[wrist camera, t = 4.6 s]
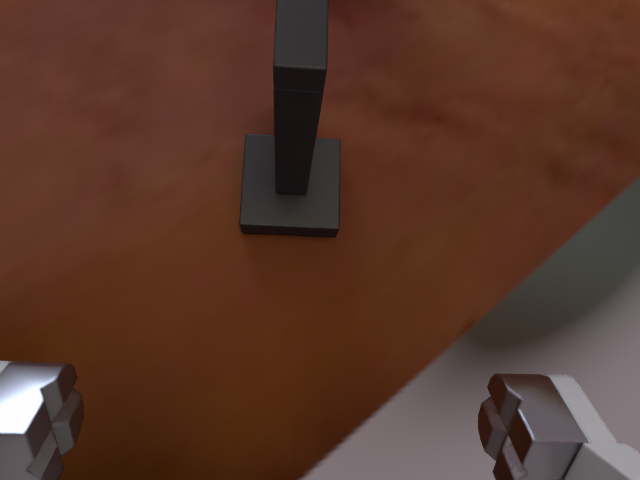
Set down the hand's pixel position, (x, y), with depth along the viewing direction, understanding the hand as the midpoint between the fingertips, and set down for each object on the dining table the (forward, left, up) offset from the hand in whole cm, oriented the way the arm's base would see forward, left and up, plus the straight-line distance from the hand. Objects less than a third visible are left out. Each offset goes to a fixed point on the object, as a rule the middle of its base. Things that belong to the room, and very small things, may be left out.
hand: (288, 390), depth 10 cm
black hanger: (-10, +5, -15) cm, 18 cm away
